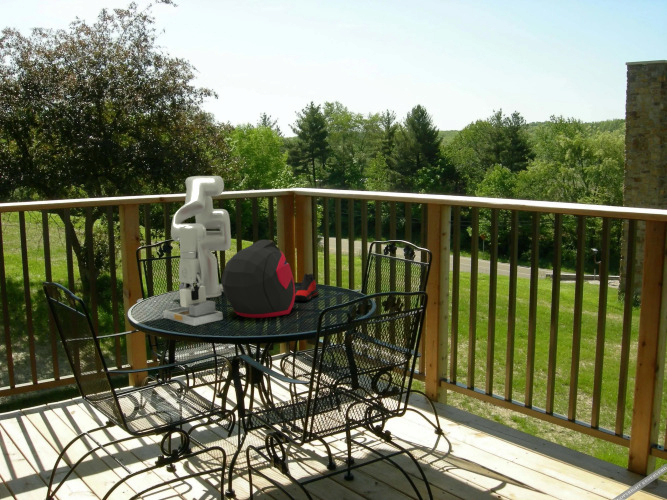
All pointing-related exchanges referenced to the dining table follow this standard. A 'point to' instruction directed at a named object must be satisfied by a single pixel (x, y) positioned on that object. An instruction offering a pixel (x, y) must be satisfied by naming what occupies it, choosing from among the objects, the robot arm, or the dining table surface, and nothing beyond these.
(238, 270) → the helmet
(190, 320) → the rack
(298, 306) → the dining table surface
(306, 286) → the athletic shoe
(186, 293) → the off-white rectangular block
